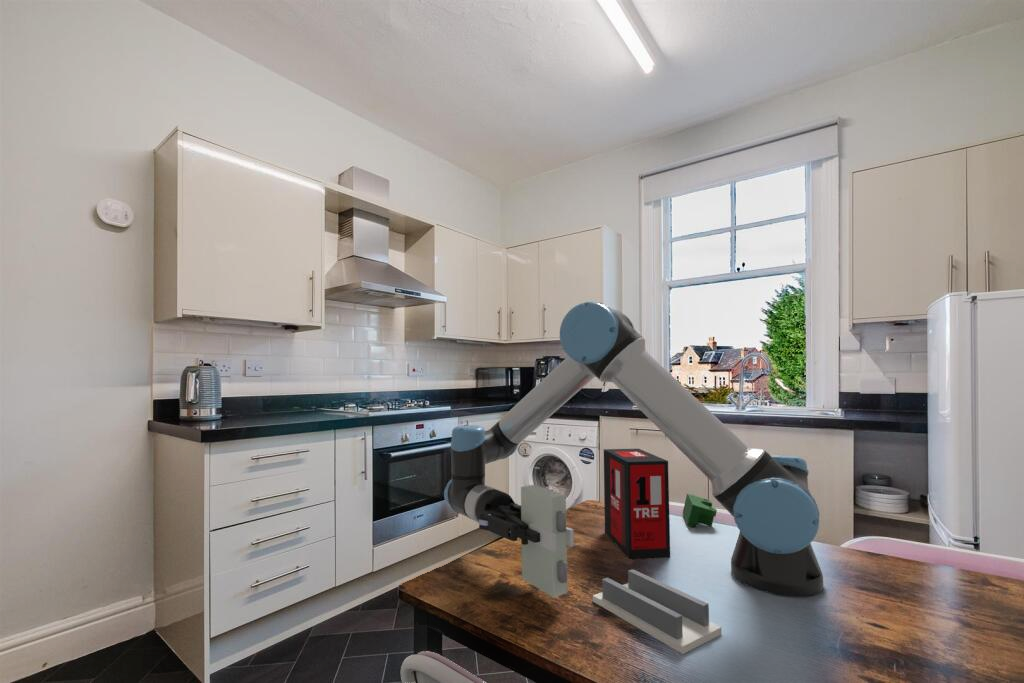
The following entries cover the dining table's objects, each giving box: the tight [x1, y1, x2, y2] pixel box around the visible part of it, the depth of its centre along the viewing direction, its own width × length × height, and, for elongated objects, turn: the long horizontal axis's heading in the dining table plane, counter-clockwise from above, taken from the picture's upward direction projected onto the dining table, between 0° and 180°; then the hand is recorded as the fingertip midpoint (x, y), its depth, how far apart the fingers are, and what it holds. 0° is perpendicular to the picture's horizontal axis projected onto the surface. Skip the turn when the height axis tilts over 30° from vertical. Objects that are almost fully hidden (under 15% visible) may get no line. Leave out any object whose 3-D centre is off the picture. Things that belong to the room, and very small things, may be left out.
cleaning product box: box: [603, 448, 671, 560], centre depth 108 cm, size 16×9×20 cm, turn 7°
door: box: [520, 484, 568, 598], centre depth 82 cm, size 10×3×16 cm, turn 33°
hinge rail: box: [592, 568, 723, 655], centre depth 75 cm, size 18×9×4 cm, turn 33°
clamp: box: [682, 493, 718, 528], centre depth 123 cm, size 12×6×9 cm, turn 161°
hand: (563, 540), depth 78 cm, fingers closed on door, 3 cm apart
